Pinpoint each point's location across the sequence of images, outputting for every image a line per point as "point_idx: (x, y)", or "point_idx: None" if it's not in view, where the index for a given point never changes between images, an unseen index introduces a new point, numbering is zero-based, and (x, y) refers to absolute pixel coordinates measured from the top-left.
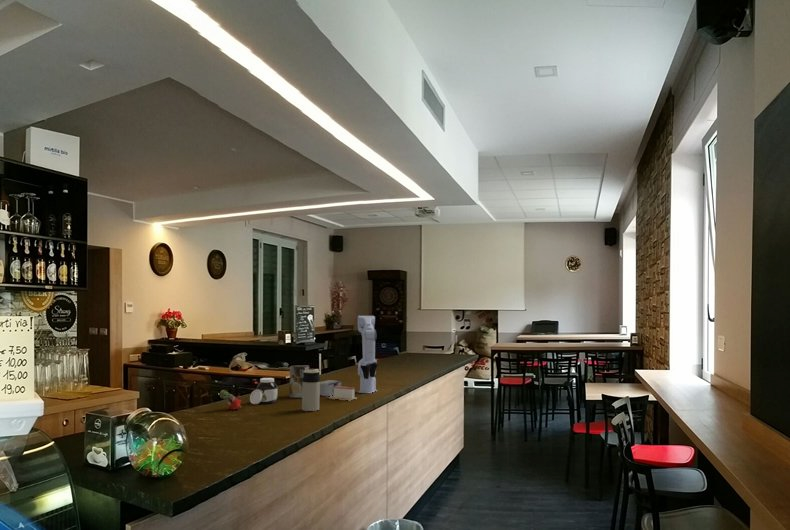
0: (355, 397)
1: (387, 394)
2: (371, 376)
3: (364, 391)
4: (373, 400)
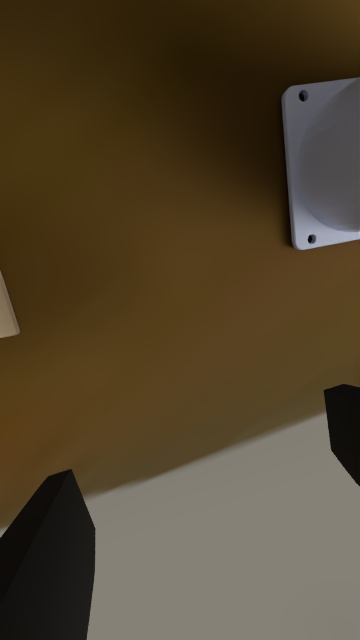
0: (3, 311)
1: (349, 382)
2: (334, 417)
3: (302, 184)
4: None
